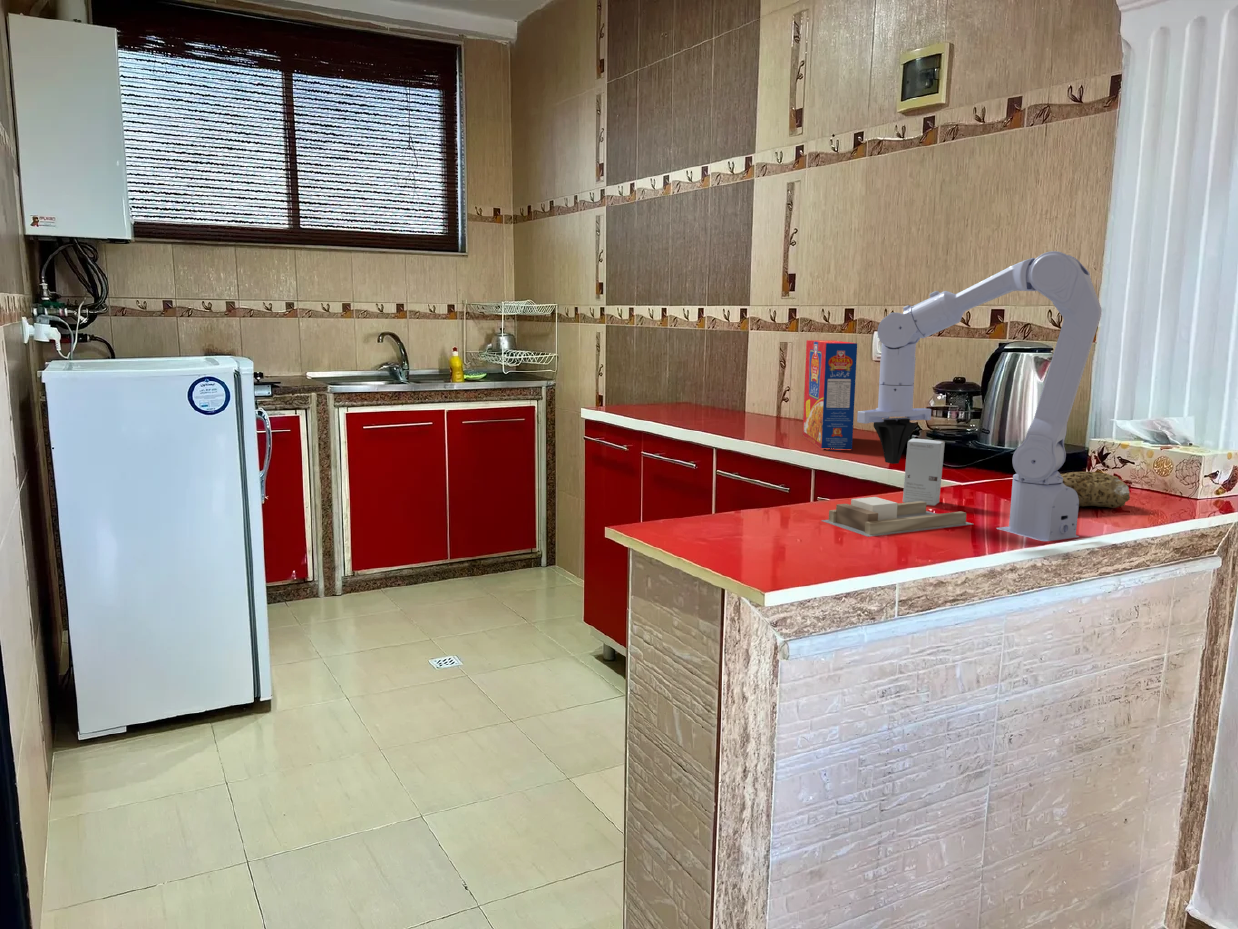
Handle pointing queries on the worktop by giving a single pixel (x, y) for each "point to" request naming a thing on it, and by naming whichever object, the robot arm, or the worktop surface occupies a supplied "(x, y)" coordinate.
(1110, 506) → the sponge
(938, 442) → the skincare box
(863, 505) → the block
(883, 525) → the guide rails
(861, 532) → the track board
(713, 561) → the worktop surface
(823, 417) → the pasta box
